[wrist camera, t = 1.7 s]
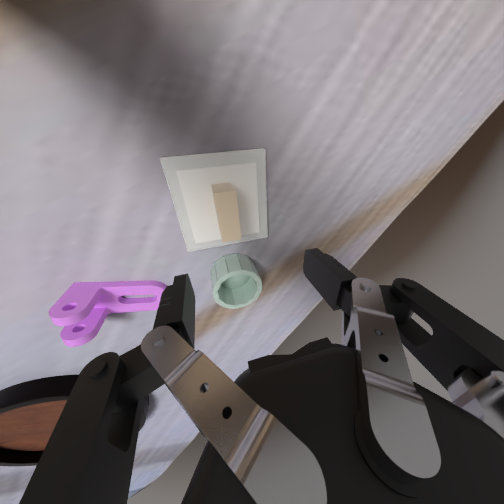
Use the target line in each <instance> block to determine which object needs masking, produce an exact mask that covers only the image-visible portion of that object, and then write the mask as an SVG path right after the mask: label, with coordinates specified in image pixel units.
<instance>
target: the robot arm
mask: <svg viewBox="0 0 504 504" xmlns="http://www.w3.org/2000/svg"><path fill="white" fill-rule="evenodd" d="M303 271H304V274H305V276H306V277H307V279H308V280H309V281H310V282H311V283H312V285H313V286H314V287H315V288H316V290H317V291H318V292H319V293H320V294H321V296H322V297H323V298H324V299H325V300H326V302H327V303H328V304H329V305H330V306H331V308H332V309H333V310H338V309H342V310H343V313H342V345H340V344H332V343H331V342H330V340H329V339H328V338H324V339H320V340H317V341H314V342H310V343H308V344H307V345H305V346H304V347H302V348H301V349H299V350H298V351H296V352H295V353H293V354H290V355H267V356H264V357H261V358H258V359H254V360H251V361H248V366H249V369H247V370H246V371H244V372H243V373H242V374H241V375H240V376H239V377H238V378H237V379H236V380H235V382H233V381H232V380H231V379H230V378H229V377H228V376H227V375H226V374H225V373H224V372H223V371H222V370H221V369H220V368H219V367H217V366H216V365H215V364H214V363H213V362H212V361H211V360H210V359H209V358H208V357H207V356H206V355H205V354H204V353H203V352H201V351H200V350H197V351H196V350H194V335H195V295H194V291H193V288H192V285H191V282H190V278H189V276H188V274H183V275H178V276H175V277H174V282H173V285H170V286H167V287H166V288H165V290H164V291H163V292H162V295H161V299H160V303H159V307H158V311H157V315H156V319H155V323H154V327H153V330H151V331H150V332H149V333H148V334H147V335H146V336H145V337H144V339H143V341H142V343H141V345H139V346H137V347H136V348H134V349H132V350H130V351H128V352H126V353H124V354H122V355H121V356H119V355H118V354H117V353H114V352H108V353H104V354H102V355H100V356H98V357H96V358H95V359H93V360H92V361H91V362H89V363H88V364H87V365H86V366H85V367H84V369H83V370H82V371H81V373H80V374H79V376H78V378H77V380H76V383H75V385H74V387H73V389H72V391H71V393H70V395H69V398H68V400H67V402H66V404H65V406H64V408H63V411H62V413H61V415H60V417H59V419H58V421H57V423H56V426H55V428H54V430H53V432H52V434H51V436H50V439H49V441H48V443H47V445H46V447H45V449H44V451H43V454H42V456H41V458H40V460H39V462H38V464H37V466H36V469H35V471H34V473H33V475H32V477H31V479H30V482H29V484H28V486H27V488H26V490H25V492H24V494H23V497H22V499H21V501H20V503H19V504H127V499H128V493H129V487H130V481H131V475H132V469H133V462H134V456H135V450H136V444H137V438H138V432H139V426H140V420H141V414H142V407H143V401H144V397H145V396H146V395H148V394H150V393H151V392H153V391H154V390H156V389H157V388H159V387H160V386H162V385H163V384H165V385H166V386H167V387H168V389H169V390H170V391H171V393H172V394H173V395H174V397H175V398H176V399H177V401H178V402H179V404H180V405H181V406H182V408H183V409H184V410H185V412H186V413H187V414H188V416H189V417H190V419H191V420H192V421H193V423H194V424H195V425H196V427H197V428H198V430H199V431H200V432H201V434H202V435H203V436H204V437H205V439H206V440H207V443H206V446H205V448H204V451H203V453H202V455H201V458H200V460H199V463H198V465H197V467H196V470H195V472H194V474H193V477H192V479H191V482H190V484H189V486H188V489H187V491H186V494H185V496H184V498H183V501H182V503H181V504H504V340H502V339H501V338H499V337H498V336H496V335H495V334H493V333H492V332H490V331H489V330H488V329H486V328H485V327H483V326H482V325H480V324H478V323H477V322H475V321H474V320H473V319H471V318H469V317H468V316H467V315H465V314H464V313H462V312H461V311H459V310H458V309H456V308H454V307H453V306H452V305H450V304H448V303H447V302H446V301H444V300H443V299H441V298H440V297H438V296H436V295H435V294H434V293H432V292H431V291H429V290H428V289H426V288H425V287H423V286H422V285H420V284H419V283H417V282H415V281H413V280H410V279H405V278H397V279H395V280H394V281H393V283H392V286H386V285H384V286H383V285H378V284H377V283H375V282H374V281H372V280H369V279H366V278H357V277H356V276H355V275H354V274H353V273H351V272H350V271H349V270H348V269H347V268H345V267H344V266H342V264H341V263H339V262H338V261H337V260H336V259H334V258H333V257H332V256H330V255H327V254H324V253H322V252H321V251H320V250H319V249H318V248H314V249H309V250H306V251H305V256H304V265H303ZM414 312H415V313H416V314H417V315H418V316H420V317H421V318H422V319H423V320H424V321H426V322H427V323H428V324H429V325H430V326H431V328H432V329H433V335H432V336H431V335H430V334H429V333H428V332H427V331H426V330H425V329H423V328H422V327H421V326H420V325H419V324H418V323H416V322H415V321H414V320H413V319H412V318H411V316H412V314H413V313H414ZM402 344H403V345H404V346H405V347H406V348H407V349H408V350H409V351H410V352H411V353H412V354H413V355H414V356H415V357H416V358H417V359H418V360H419V362H420V363H422V365H423V366H424V367H425V368H426V369H427V370H428V371H429V372H430V373H431V374H432V375H433V376H434V377H435V378H436V379H437V380H438V381H439V382H440V383H441V384H442V386H444V388H446V390H447V391H448V393H449V395H450V397H451V399H452V400H453V402H452V403H451V402H450V401H448V400H446V399H444V398H442V397H440V396H439V395H437V394H435V393H433V392H431V391H430V390H428V389H426V388H424V387H422V386H421V385H419V384H417V383H415V382H413V380H412V377H411V373H410V370H409V367H408V363H407V360H406V356H405V353H404V350H403V346H402Z"/></svg>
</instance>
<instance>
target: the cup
mask: <svg viewBox="0 0 504 504" xmlns="http://www.w3.org/2000/svg"><path fill="white" fill-rule="evenodd" d="M211 282H212V292H213V296H214V300H215V302H217V303H218V304H219V305H221V306H222V307H224V308H231V309H237V308H241V307H245V306H246V305H249V304H250V303H252V302H253V301H255V300H256V299H257V298H258V296H259V294H260V293H261V291H262V280H261V278H260V276H259V274H258V272H257V269H256V267H255V265H254V263H253V262H252V261H251V260H250V259H249V257H248V256H245V255H241V254H238V253H237V254H236V253H235V254H229V255H225V256H223V257H222V258H220V259H219V260H218V261H216V262H215V263H214V265H213V268H212V270H211Z"/></svg>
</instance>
